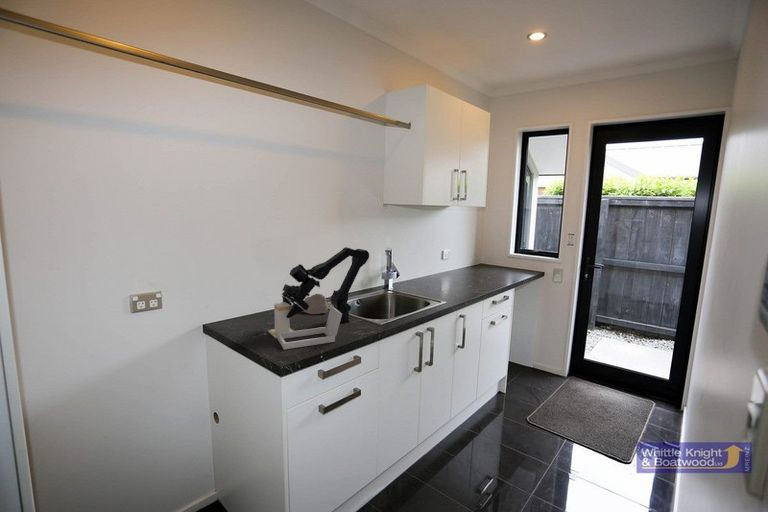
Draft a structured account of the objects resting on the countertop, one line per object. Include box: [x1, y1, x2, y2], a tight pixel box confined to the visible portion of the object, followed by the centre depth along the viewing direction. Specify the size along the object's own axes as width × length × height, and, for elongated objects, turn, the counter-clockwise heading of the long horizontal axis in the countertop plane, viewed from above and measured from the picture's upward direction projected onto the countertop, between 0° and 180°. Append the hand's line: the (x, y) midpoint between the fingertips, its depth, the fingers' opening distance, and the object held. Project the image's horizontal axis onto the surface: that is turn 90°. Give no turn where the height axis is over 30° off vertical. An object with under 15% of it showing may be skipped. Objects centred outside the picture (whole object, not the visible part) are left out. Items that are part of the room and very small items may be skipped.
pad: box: [267, 327, 295, 339], centre depth 169 cm, size 10×10×1 cm
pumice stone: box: [301, 293, 329, 315], centre depth 200 cm, size 15×8×10 cm, turn 75°
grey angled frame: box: [276, 305, 342, 350], centre depth 161 cm, size 25×13×12 cm, turn 117°
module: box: [273, 301, 291, 333], centre depth 168 cm, size 5×5×13 cm
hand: (282, 315), depth 168 cm, fingers open, 9 cm apart
